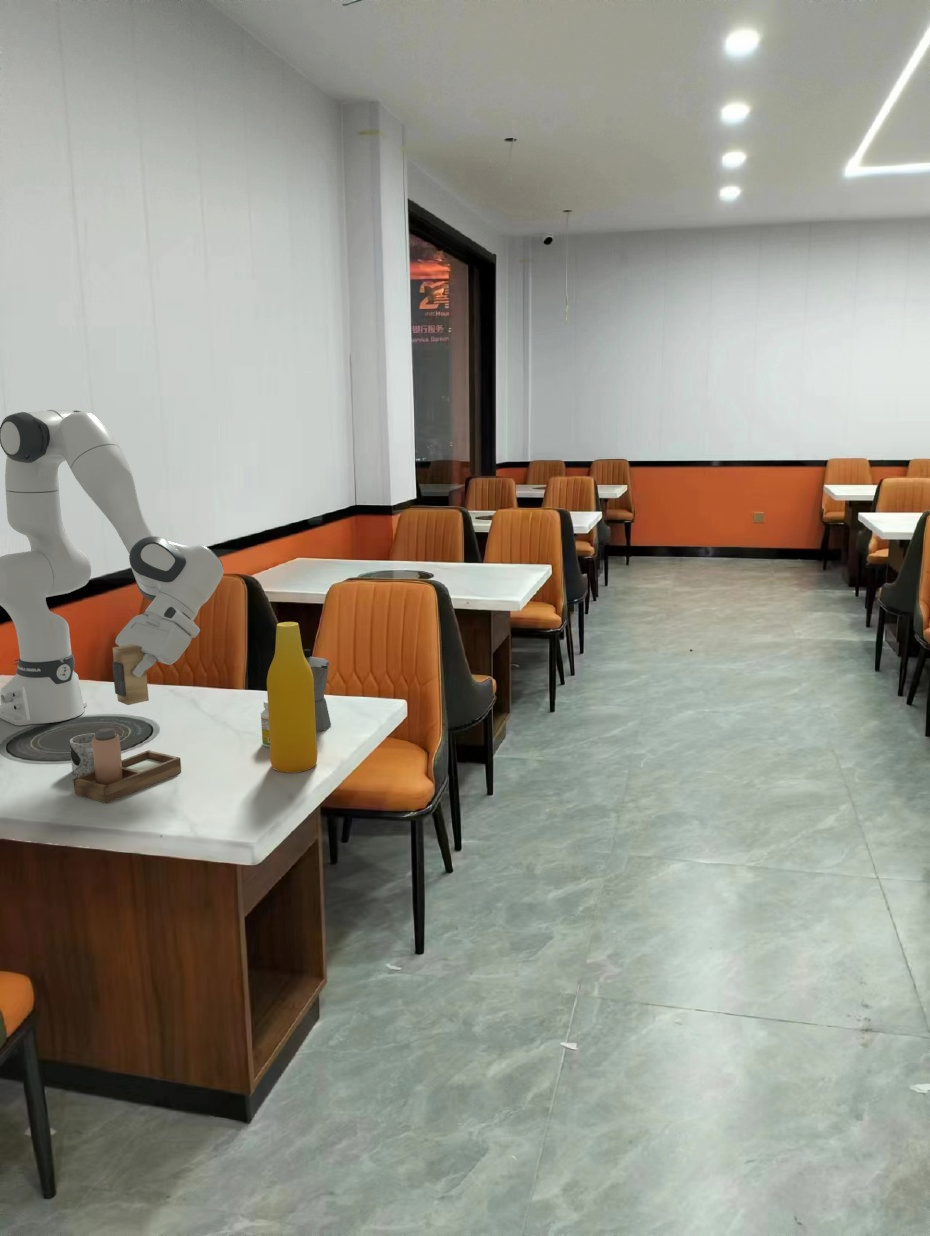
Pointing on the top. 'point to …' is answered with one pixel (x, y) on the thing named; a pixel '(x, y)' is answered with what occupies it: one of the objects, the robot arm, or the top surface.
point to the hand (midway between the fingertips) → (127, 672)
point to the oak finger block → (129, 675)
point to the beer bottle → (291, 704)
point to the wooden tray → (129, 776)
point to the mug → (82, 754)
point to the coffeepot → (319, 689)
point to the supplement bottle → (265, 725)
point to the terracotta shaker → (107, 756)
